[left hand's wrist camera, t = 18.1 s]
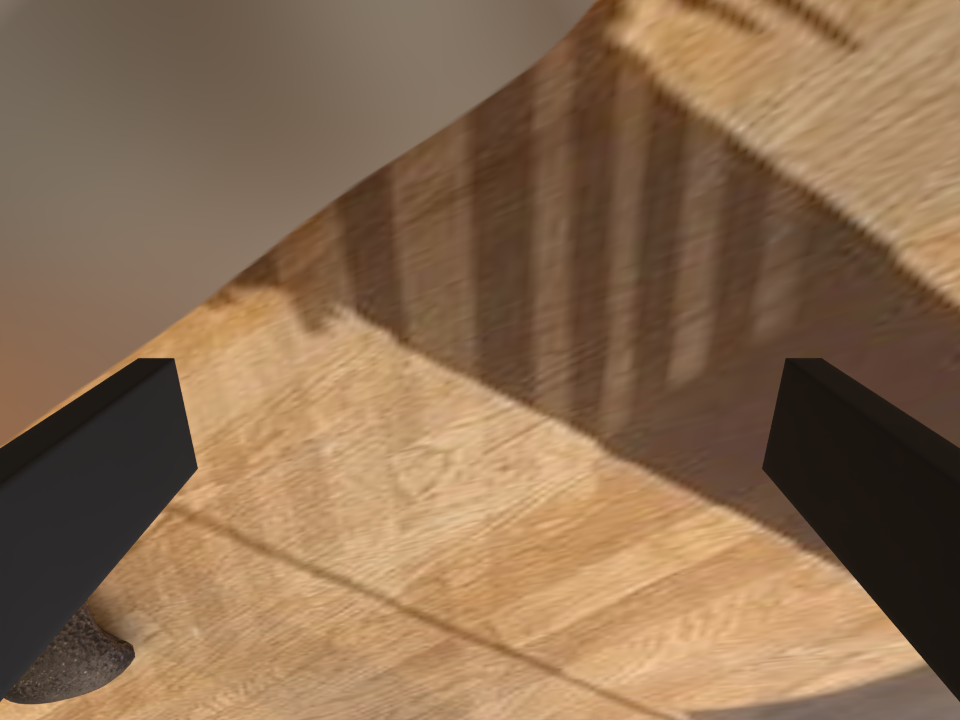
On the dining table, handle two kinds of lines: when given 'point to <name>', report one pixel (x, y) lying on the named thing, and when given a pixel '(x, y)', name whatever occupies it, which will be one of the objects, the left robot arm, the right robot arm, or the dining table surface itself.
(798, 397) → the left robot arm
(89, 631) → the stone
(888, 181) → the dining table surface
